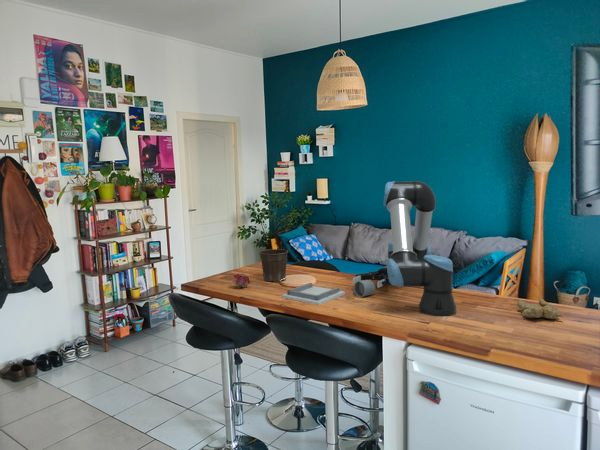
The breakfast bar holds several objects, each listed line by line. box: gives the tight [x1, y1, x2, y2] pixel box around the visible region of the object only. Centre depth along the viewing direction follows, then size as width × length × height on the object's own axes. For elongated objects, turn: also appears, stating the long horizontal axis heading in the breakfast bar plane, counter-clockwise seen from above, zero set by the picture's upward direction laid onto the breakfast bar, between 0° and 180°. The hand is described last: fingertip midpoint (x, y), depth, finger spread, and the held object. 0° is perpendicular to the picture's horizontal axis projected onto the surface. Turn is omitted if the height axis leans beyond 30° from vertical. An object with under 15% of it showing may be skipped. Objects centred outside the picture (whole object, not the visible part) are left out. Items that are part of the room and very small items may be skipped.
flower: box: [233, 273, 251, 290], centre depth 235 cm, size 10×9×8 cm
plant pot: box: [258, 248, 289, 283], centre depth 250 cm, size 16×16×16 cm
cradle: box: [281, 282, 346, 306], centre depth 217 cm, size 22×22×3 cm
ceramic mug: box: [352, 280, 377, 298], centre depth 217 cm, size 11×8×8 cm
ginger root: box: [516, 297, 564, 320], centre depth 179 cm, size 16×16×8 cm
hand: (365, 282), depth 217 cm, fingers open, 13 cm apart
